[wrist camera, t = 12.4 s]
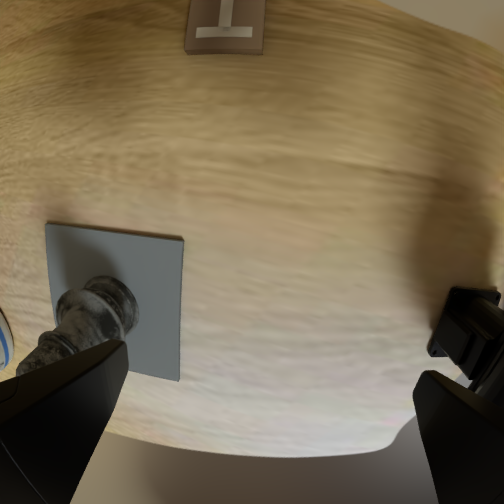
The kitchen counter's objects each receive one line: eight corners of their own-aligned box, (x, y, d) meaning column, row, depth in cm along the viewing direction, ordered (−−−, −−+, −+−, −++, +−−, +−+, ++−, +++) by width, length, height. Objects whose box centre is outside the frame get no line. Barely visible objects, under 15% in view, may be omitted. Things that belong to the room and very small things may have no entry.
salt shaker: (70, 307, 22) (-21, 389, 10) (96, 256, 21) (-18, 330, 9) (123, 351, 23) (54, 455, 11) (156, 305, 21) (77, 418, 10)
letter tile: (265, 1, 16) (265, -10, 14) (262, 57, 17) (262, 49, 16) (196, 1, 16) (192, -9, 15) (189, 57, 18) (183, 49, 16)
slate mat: (184, 240, 20) (182, 242, 20) (179, 378, 24) (178, 381, 23) (48, 223, 21) (45, 224, 20) (62, 348, 24) (60, 350, 23)
